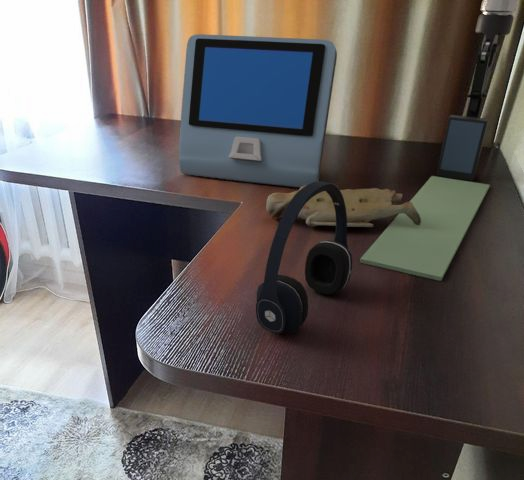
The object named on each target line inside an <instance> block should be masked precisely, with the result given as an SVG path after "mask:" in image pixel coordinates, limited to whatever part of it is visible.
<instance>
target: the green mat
mask: <svg viewBox="0 0 524 480" xmlns="http://www.w3.org/2000/svg"><path fill="white" fill-rule="evenodd" d="M490 187H491V184H488V183H481V182H475V181H474V182H473V181H468V180H462V179H455V178H449V177H442V176H436V175H431V176H430V177H429V178H428V180H427V181H426V182H425V183H424V184H423V186H421V187H420V189H419V190H418V191H417V192H416V194H415V195H414V196H413V197H412V198H411V199H410V201H409V202H412V204H413V205H414V207H415V209H416V210H417V212H418V213H419V215H420V218H421V219H420V220H421V223H420V225H419V226H418V225H415V224H414V223H413V221H412V220H411V219H410V218H409V217H408V216H407V215H406V214H402V213H401V214H397V215H396V217H394V219H393V220H392V222H390V224H388V226H387V227H386V228H385V229H384V231H383V232H382V233H381V234H380V235H379V236H378V238H377V239H376V240H375V241H374V242H373V243H372V244H371V246H370V247H369V248H368V249H367V250H366V251H365V252H364V253H363V255H362V256H361V257H360V259H359V264H364V265H370V266H373V267H378V268H382V269H386V270H390V271H395V272H400V273H404V274H408V275H412V276H417V277H421V278H425V279H429V280H435V281H439V282H442V280H443V278H444V276H445V275H446V272H447V271H448V269H449V267H450V265H451V263H452V261H453V259H454V257H455V255H456V253H457V251H458V249H459V248H460V246H461V244H462V242H463V240H464V238H465V236H466V233H467V232H468V230H469V228H470V226H471V224H472V222H473V220H474V218H475V217H476V215H477V212H478V211H479V208H481V205H482V203H483V201H484V200H485V197H486V195H487V193H488V191H489V189H490Z"/></svg>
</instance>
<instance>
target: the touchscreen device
mask: <svg viewBox="0 0 524 480" xmlns="http://www.w3.org/2000/svg"><path fill="white" fill-rule="evenodd" d="M337 59H338V53H337V48H336V46H335V43H334V42H333V41H331V40H328V39H318V38H317V39H316V38H296V37H295V38H293V37H273V36H272V37H271V36H250V35H249V36H248V35H225V34H206V33H205V34H202V33H201V34H200V33H197V34H193V35H191V36H189V37H188V39H187V43H186V51H185V63H184V64H185V65H184V73H183V74H184V75H183V88H182V99H181V110H180V111H181V112H180V122H179V123H180V131H179V143H178V144H179V145H178V165H179V172H180V173H181V174H183V175H186V174H187V176H191V175H195V176H194V177H199V176H203V177H202V178H207V177H210V178H209V179H215V178H218V179H217V180H224V179H225V181H232V180H233V181H234V182H241V183H249V184H251V183H252V184H258V185H267V186H277V187H285V186H286V188H296V189H300V188H301V187H302V186H305V185H308V184H310V183H313V182H319V181H320V174H321V168H322V162H323V155H324V149H325V148H324V147H325V140H326V133H327V128H328V127H327V126H328V122H329V121H328V120H329V113H330V107H331V100H332V93H333V86H334V79H335V72H336V66H337ZM233 181H232V182H233Z"/></svg>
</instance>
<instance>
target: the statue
mask: <svg viewBox="0 0 524 480" xmlns="http://www.w3.org/2000/svg"><path fill="white" fill-rule="evenodd" d="M334 185H335V186H337V185H336V184H334ZM305 186H307V185H305ZM305 186H302V187H301V188H298V190H295V191H292V192H289V193H288V192H273V193H271V194H269V195H268V197H267V199H266V204H265V210H266V212H267V214H268V215H269V216H271V218H272V219H274V218H279V217H282V216H283V214H284V212H285V210H286V208H287V206H288V204H289V203H290V201H291V200H292V198H293V197H294V195H295V194H296V193H298V192H299V191H300V190H301V189H302V188H304V187H305ZM339 190H340V191H341V193H342V195H343V198H344V202H345V207H346V214H347V228H348V227H349V228H350V227H355V228H356V227H357V228H373V227H374V223H371V222H372V221H373V220H377V219H384V218H388V217H392V216H395V215H399V214H401V213H402V214H406V215H407V216H408V217H409V218H410V219H411V220H412V221H413V223H414V224H415V225H418V226H419V225H420V223H421V220H420V219H421V218H420V215H419V213H418V212H417V210H416V209H415V207H414V205H413V204H412V202H410V201H406V202H404V203H402V198H403V196H404V194H403V193H396V190H395V189H394V190H391V189H389V188H385V189H384V188H383V189H380V188H377V187H371V188H356V189H351V188H346V189H339ZM394 203H401V204H394ZM297 217H299V218H300V219H302V220H305V225H307V226H308V227H309V228H315V227H317V226H331V227H332V226H333V227H336V214H335V208H334V203H333V201H332V199H331V197H330V196H329V194H328V193H327V192H326V191H323V192H321V193H318V194H317V195H315V196H314V197H312V198H311V199H310V200H309V201H308V202H307V203H306V204H305V205H304V206H303V208H302V209H301V211H300V213H299V214H298V216H297Z"/></svg>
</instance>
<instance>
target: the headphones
mask: <svg viewBox="0 0 524 480" xmlns="http://www.w3.org/2000/svg"><path fill="white" fill-rule="evenodd" d="M335 185H336V184H334V183H331V182H326V181H322V180H321V181H320V180H319V182H313V183H310V184H308V185H307V186H305V187H304V188H302V189H301V190H300V191H299V192H298V193H296V194H295V195H294V197H293V198H292V200H291V201H290V203H289V204H288V206H287V208H286V210H285V212H284V214H283V216H281V218H280V220H279V222H278V225H277V227H276V230H275V233H274V236H273V240H272V241H271V244H270V249H269V252H268V257H267V262H266V266H265V270H264V271H265V272H264V279H263V282H262V283H261V284H260V285H258V286H257V291H256V302H255V315H256V320H257V322H258V325H260V327H261V328H263V329H264V330H265V331H268V332H270V333H273V334H281V333H282V334H284V335H292V334H294V333H295V332H297V331H298V330H299V329H300V327H302V326H303V325H304V323H305V322H306V320H307V317H308V313H309V298H308V294H307V290H306V288H305V286H303V284H302V283H301V282H300V281H298V280H297V279H296V278H294V277H291V276H289V275H285V274H279V270H280V266H281V261H282V258H283V254H284V251H285V247H286V244H287V240H288V238H289V236H290V233H291V231H292V228H293V226H294V224H295V222H296V220H297V218H298V217H299V216H298V214H299V213H300V211H301V209H302V208H303V206H304V205H305V204H306V203H307V202H308V201H309V200H310V199H311V198H312V197H314V196H315V195H317V194H318V193H321V192H323V191H326V192H327V193H328V194H329V196H330V197H331V199H332V201H333V203H334V208H335V214H336V226H335V233H334V238H333V240H321V241H320V242H318V243H316V244H315V245H314V246H312V247H311V248H310V249H309V251H308V253H307V255H306V259H305V263H304V264H305V265H304V277H305V281H306V283H307V285H308V287H309V288H310V289H312V291H314V292H317V293H319V294H321V295H322V294H323V295H327V296H329V295H330V296H331V295H336V294H338V293H340V291H342V290H343V289H345V288H346V287H347V286H348V284H349V282H350V279H351V275H352V270H353V256H352V253H351V251H350V249H349V246H348V235H347V234H348V227H347V214H346V207H345V202H344V198H343V195H342V193H341V191H340V190H341V189H339V187H338V185H336V186H335Z"/></svg>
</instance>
